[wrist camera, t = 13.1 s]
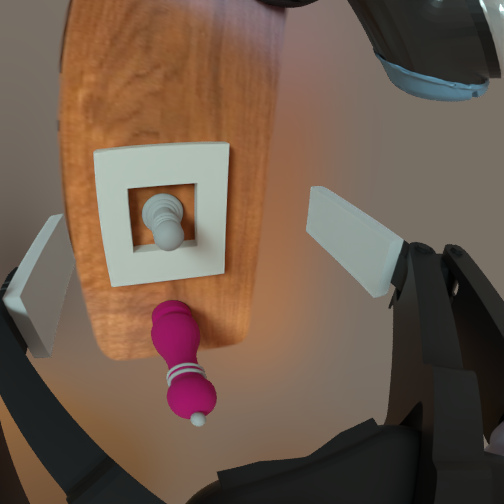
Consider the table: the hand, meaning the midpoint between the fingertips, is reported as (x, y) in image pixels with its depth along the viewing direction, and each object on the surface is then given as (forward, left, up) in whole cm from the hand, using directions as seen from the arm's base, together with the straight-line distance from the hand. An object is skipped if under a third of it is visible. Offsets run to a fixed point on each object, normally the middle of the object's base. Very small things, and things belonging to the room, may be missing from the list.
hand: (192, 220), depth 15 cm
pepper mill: (+18, +18, -23) cm, 34 cm away
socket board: (+6, +6, -23) cm, 24 cm away
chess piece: (+6, +6, -23) cm, 24 cm away
